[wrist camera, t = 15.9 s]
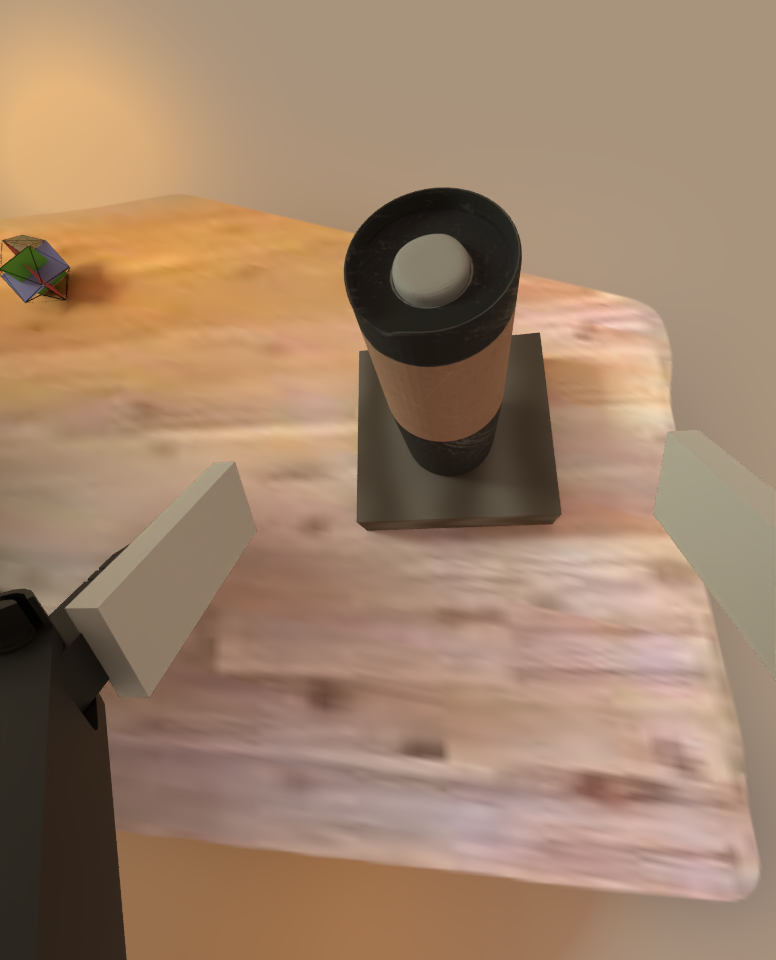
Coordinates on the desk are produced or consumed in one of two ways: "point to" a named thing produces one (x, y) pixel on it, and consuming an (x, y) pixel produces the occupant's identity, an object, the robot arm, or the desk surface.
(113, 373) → the desk surface
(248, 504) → the robot arm
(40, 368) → the desk surface
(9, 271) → the geometric puzzle
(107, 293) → the desk surface
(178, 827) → the desk surface
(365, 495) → the stand
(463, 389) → the travel mug
